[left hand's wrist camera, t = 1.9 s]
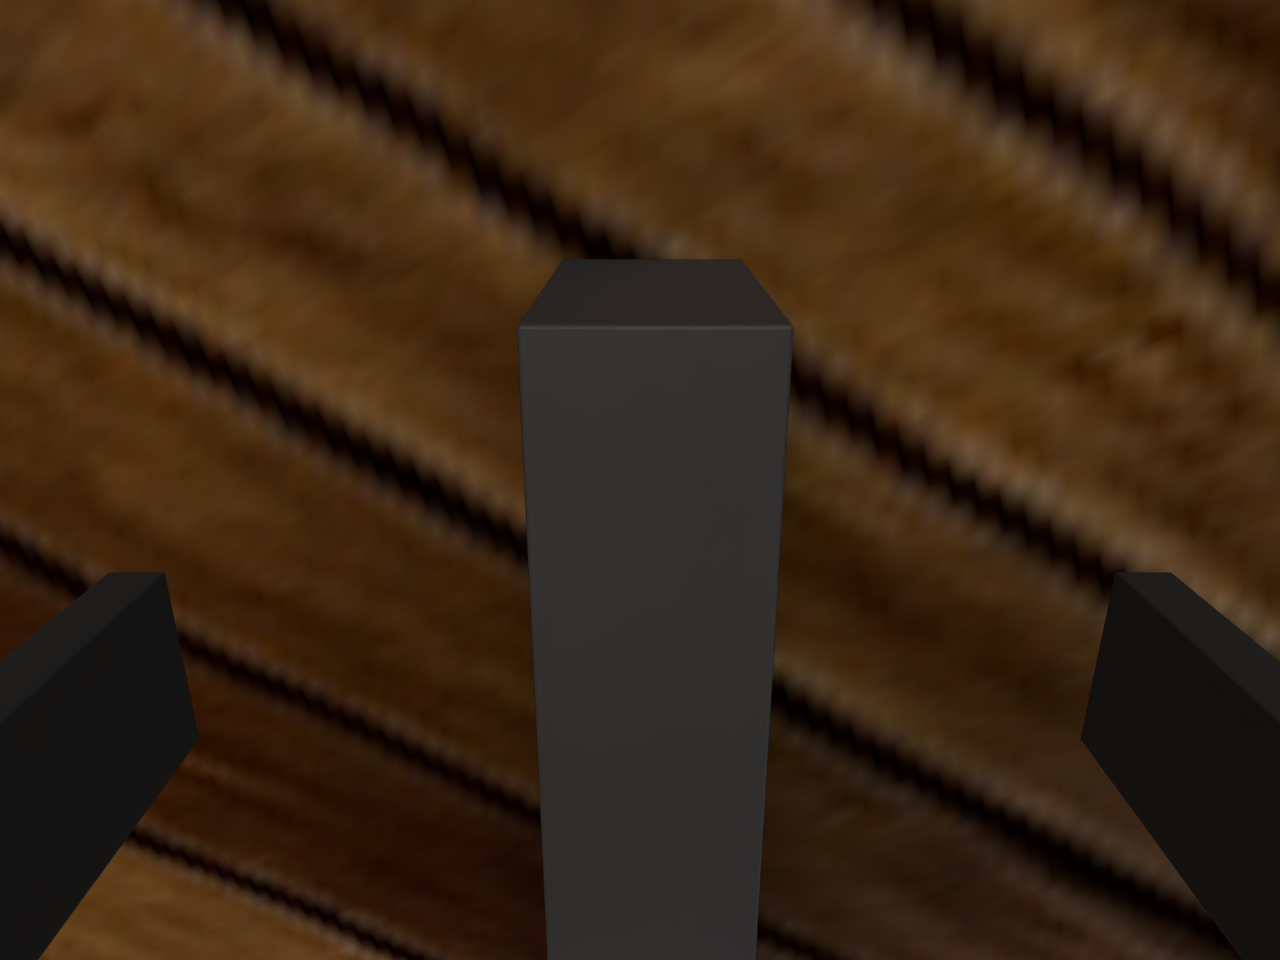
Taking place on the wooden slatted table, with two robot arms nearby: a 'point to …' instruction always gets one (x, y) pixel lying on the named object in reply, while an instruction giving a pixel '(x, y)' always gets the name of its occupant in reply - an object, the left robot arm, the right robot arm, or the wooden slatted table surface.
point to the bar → (653, 598)
